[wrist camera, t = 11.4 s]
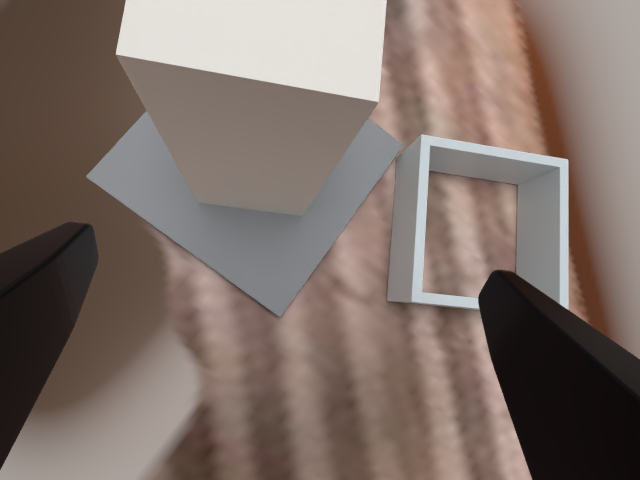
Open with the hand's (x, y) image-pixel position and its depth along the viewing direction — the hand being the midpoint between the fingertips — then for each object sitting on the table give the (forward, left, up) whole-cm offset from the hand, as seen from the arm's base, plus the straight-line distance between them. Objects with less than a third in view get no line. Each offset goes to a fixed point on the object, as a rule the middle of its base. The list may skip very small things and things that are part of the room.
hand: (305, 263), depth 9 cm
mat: (+5, +5, -13) cm, 15 cm away
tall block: (+5, +5, -12) cm, 14 cm away
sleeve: (+9, -7, -13) cm, 17 cm away
